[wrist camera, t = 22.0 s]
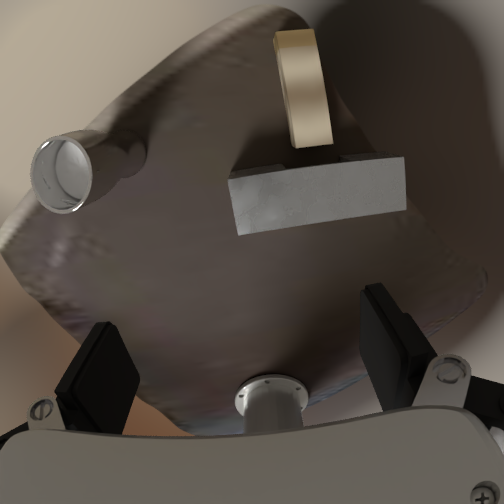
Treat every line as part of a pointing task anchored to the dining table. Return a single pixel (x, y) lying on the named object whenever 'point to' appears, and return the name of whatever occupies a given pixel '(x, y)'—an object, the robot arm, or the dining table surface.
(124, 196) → the dining table surface
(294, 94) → the bar
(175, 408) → the dining table surface
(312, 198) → the housing
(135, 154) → the beer glass
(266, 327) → the dining table surface
